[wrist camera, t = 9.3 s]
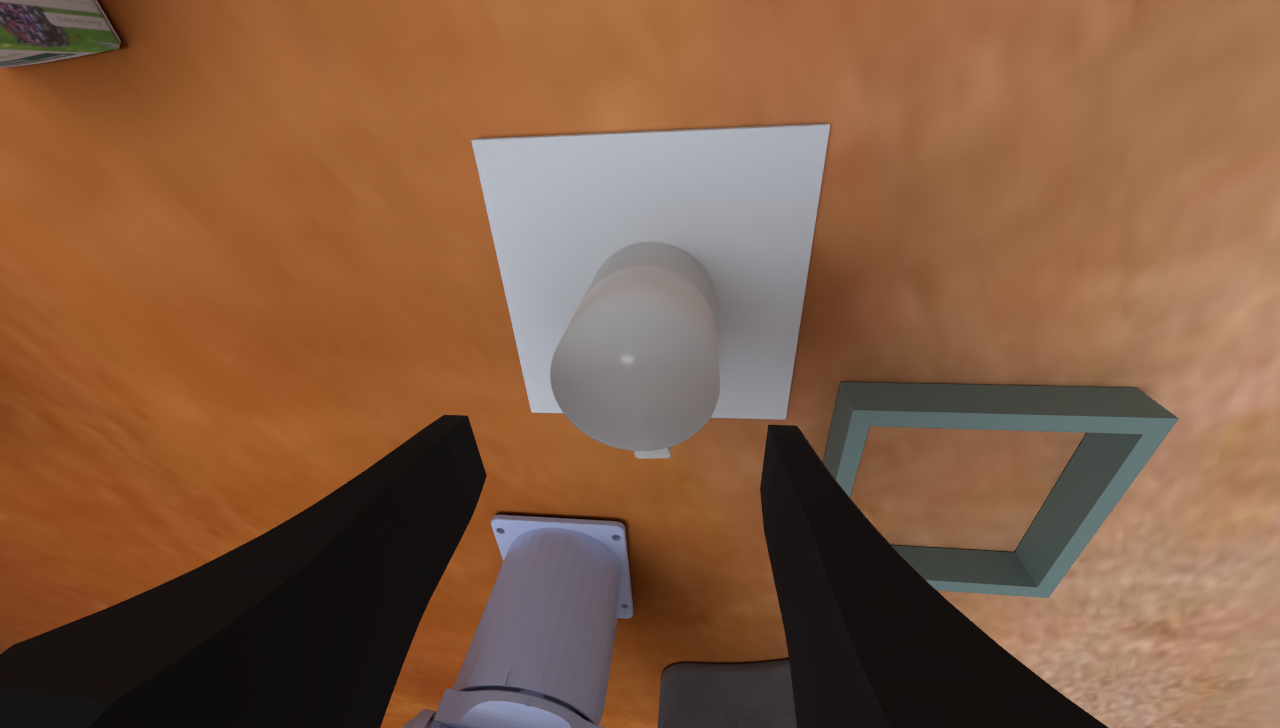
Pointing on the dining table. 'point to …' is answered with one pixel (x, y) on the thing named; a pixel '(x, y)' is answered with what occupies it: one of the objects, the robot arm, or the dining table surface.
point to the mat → (661, 237)
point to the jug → (641, 352)
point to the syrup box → (52, 31)
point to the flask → (727, 696)
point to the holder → (1095, 474)
